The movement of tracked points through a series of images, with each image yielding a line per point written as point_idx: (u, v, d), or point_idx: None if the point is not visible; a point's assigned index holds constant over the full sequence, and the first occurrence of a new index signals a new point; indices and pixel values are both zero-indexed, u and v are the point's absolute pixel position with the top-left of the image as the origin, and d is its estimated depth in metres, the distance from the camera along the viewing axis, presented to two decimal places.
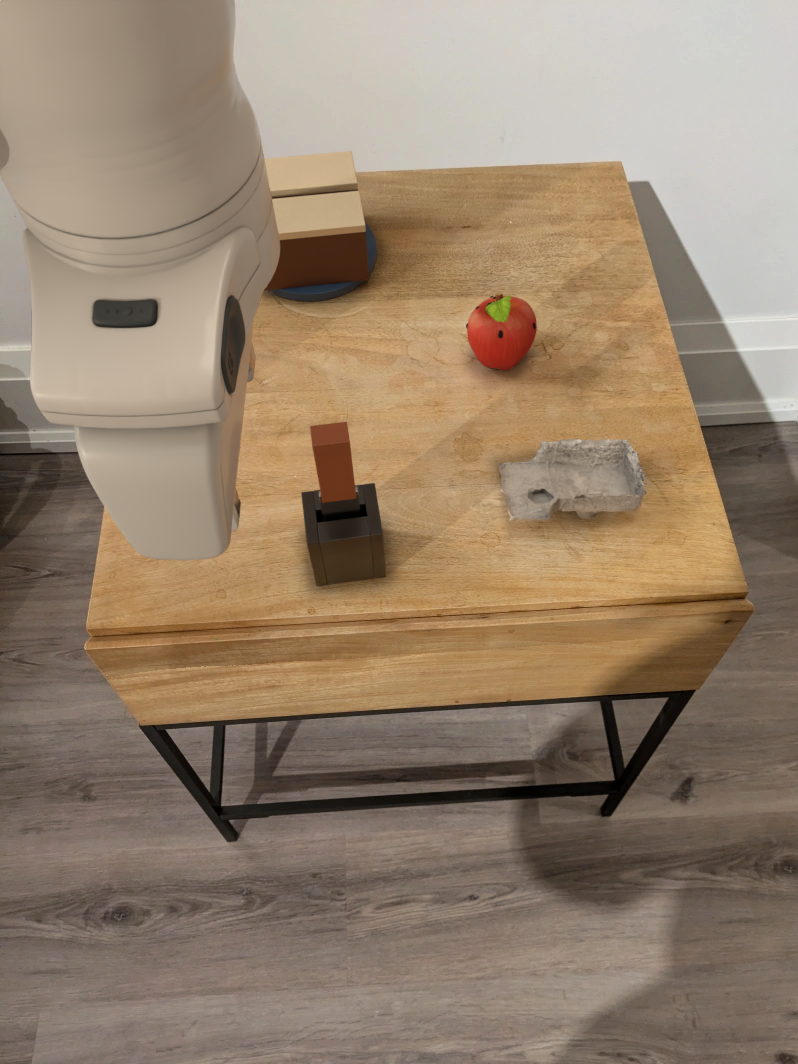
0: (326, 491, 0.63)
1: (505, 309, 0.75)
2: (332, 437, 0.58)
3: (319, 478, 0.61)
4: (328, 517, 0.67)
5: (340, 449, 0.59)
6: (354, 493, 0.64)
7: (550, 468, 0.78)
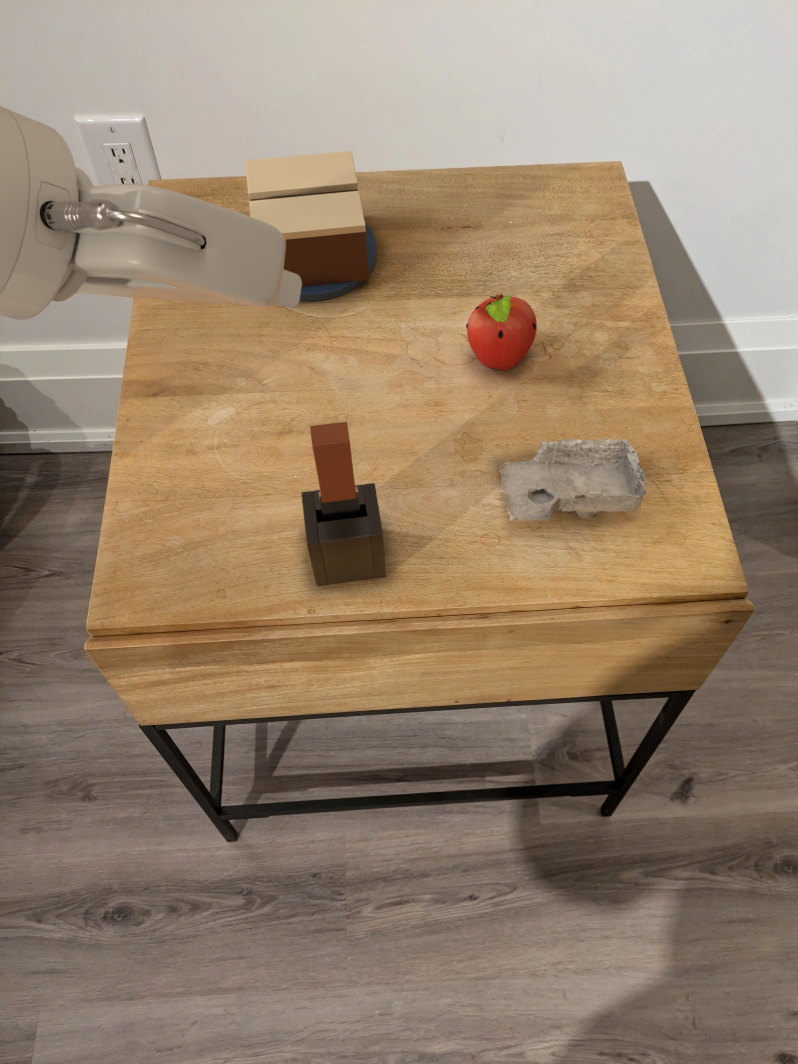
0: (326, 491, 0.63)
1: (505, 309, 0.75)
2: (332, 437, 0.58)
3: (319, 478, 0.61)
4: (328, 517, 0.67)
5: (340, 449, 0.59)
6: (354, 493, 0.64)
7: (550, 468, 0.78)
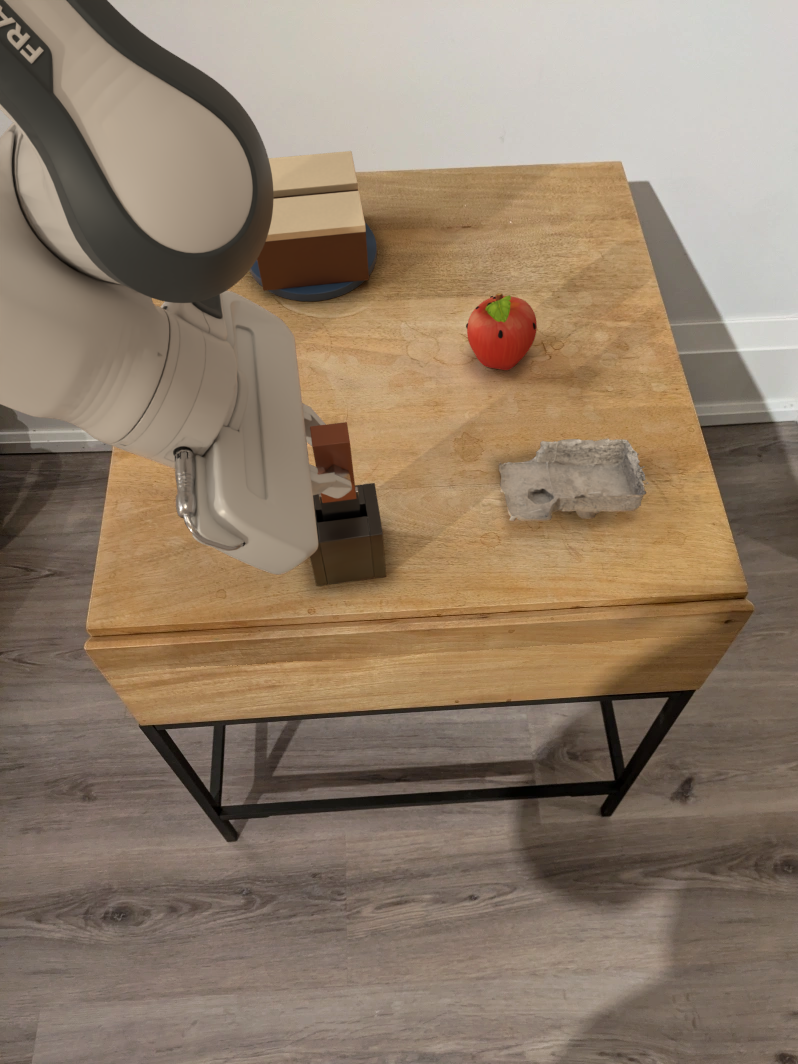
0: None
1: (505, 309, 0.75)
2: (332, 437, 0.58)
3: None
4: (328, 517, 0.67)
5: (340, 449, 0.59)
6: (354, 493, 0.64)
7: (550, 468, 0.78)
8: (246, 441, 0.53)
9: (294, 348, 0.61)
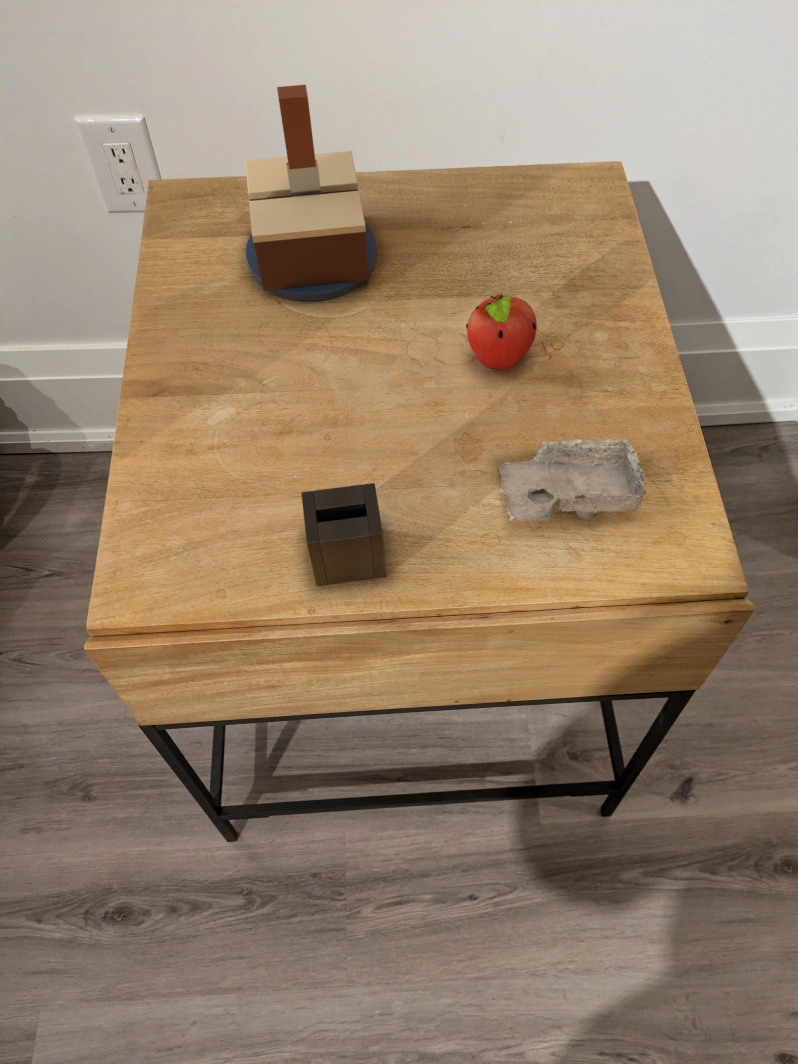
0: (291, 155, 0.80)
1: (505, 309, 0.75)
2: (294, 93, 0.76)
3: (285, 138, 0.79)
4: (294, 193, 0.84)
5: (300, 104, 0.76)
6: (314, 160, 0.81)
7: (550, 468, 0.78)
8: None
9: None
